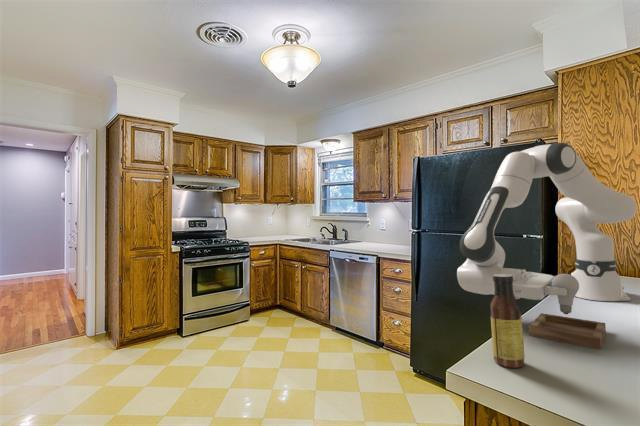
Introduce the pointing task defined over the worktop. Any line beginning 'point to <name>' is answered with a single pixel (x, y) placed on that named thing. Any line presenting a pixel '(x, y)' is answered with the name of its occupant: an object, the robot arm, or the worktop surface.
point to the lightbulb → (571, 286)
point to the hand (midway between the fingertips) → (569, 289)
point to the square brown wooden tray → (568, 330)
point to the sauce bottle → (506, 324)
